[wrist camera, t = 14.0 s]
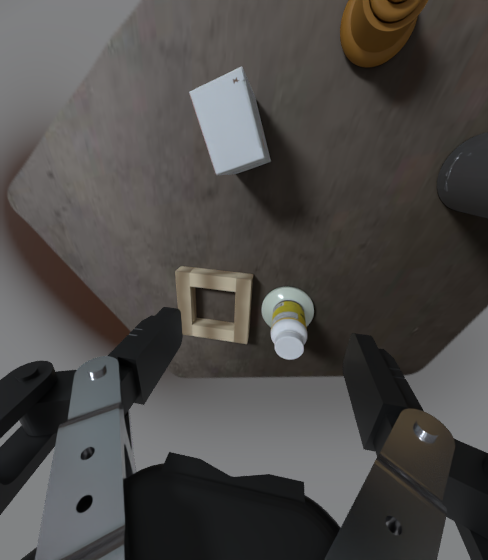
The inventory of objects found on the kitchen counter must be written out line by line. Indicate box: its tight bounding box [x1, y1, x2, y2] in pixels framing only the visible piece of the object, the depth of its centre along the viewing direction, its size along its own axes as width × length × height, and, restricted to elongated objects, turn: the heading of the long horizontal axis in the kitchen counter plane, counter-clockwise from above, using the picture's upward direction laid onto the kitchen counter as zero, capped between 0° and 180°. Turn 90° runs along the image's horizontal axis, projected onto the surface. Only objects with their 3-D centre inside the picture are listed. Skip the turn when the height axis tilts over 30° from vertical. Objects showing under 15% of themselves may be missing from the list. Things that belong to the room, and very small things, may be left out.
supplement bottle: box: [271, 299, 307, 359], centre depth 37 cm, size 5×5×10 cm
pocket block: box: [175, 266, 253, 344], centre depth 43 cm, size 13×13×2 cm
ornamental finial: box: [340, 0, 428, 67], centre depth 23 cm, size 8×8×8 cm
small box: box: [189, 67, 271, 175], centre depth 28 cm, size 8×6×10 cm
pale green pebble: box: [262, 286, 314, 327], centre depth 42 cm, size 9×9×1 cm
